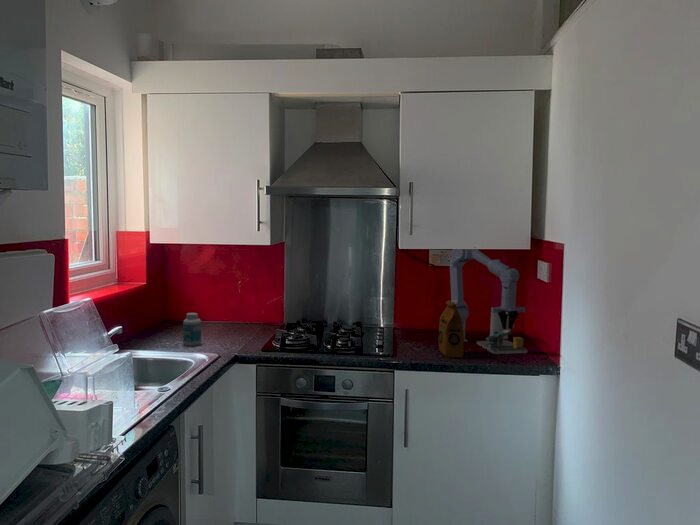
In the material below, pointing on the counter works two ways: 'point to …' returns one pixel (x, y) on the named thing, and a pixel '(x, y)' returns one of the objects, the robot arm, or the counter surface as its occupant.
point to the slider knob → (517, 342)
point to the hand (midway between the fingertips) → (507, 328)
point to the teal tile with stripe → (505, 332)
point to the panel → (501, 346)
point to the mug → (497, 324)
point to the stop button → (492, 339)
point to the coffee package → (451, 332)
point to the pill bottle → (192, 330)
